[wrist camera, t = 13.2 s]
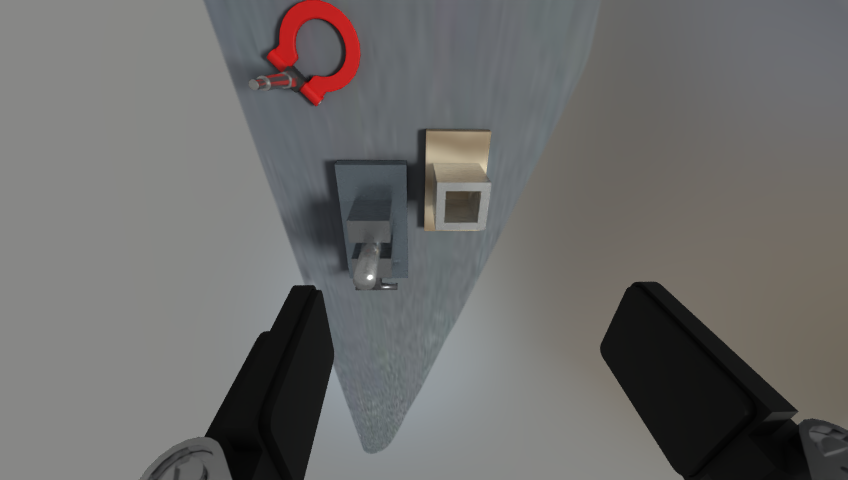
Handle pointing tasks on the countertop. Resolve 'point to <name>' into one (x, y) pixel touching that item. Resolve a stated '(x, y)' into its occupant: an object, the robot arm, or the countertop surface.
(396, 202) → the grey peg stand
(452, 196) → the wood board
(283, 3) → the countertop surface
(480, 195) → the white hollow square block
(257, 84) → the tow hook
